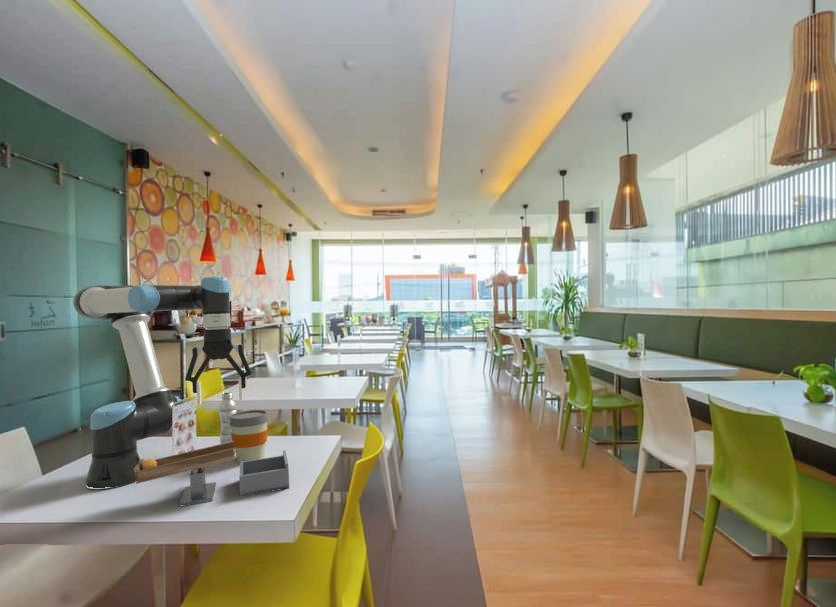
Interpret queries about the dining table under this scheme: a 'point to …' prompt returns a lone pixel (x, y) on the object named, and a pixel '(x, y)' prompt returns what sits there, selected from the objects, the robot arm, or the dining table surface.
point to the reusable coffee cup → (249, 434)
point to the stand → (198, 489)
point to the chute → (186, 462)
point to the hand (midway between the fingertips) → (220, 401)
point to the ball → (149, 464)
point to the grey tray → (264, 475)
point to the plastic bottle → (226, 416)
